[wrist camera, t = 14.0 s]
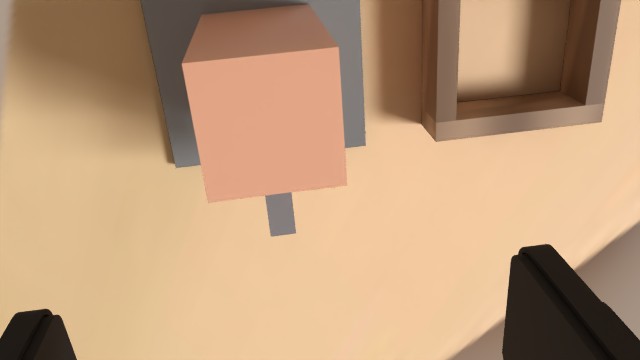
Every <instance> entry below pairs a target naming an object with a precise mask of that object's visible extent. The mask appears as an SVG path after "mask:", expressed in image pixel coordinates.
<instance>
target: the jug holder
mask: <svg viewBox="0 0 640 360" xmlns="http://www.w3.org/2000/svg"><path fill="white" fill-rule="evenodd" d="M620 4H621V0H571V6H570V14H569V22H568V30H567V38H566V47H565V55H564V63H563V71H562V79H561V87H560V91H556V92H547V93H538V94H529V95H521V96H512V97H503V98H494V99H485V100H476V101H468V102H459V103H457V81H458V54H459V27H460V0H422V126H423V127H424V128H425V129H426V130H427V132H428V133H429V134H430V135H431V136H432V138H433V139H434V140H435V141H436V142H438V141H446V140H455V139H463V138H472V137H480V136H488V135H497V134H505V133H514V132H522V131H531V130H539V129H547V128H556V127H564V126H573V125H581V124H590V123H598V122H602V116H603V109H604V103H605V97H606V91H607V85H608V78H609V72H610V66H611V60H612V53H613V47H614V41H615V35H616V29H617V22H618V16H619V10H620Z"/></svg>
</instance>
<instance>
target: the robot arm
mask: <svg viewBox="0 0 640 360" xmlns="http://www.w3.org/2000/svg"><path fill="white" fill-rule="evenodd" d="M502 350H503V351H502V353H503V359H504V360H640V340H639V339H638V338H637V337H636V336H635V335H634V333H633V332H632V331H631V330H630V329H629V328H628V327H627V326H626V325H625V324H624V322H623V321H622V320H621V319H620V318H619V317H618V316H617V315H616V314H615V312H614V311H613V310H612V309H611V308H610V307H609V306H608V305H607V304H605V303H604V302H601V301H600V299H599V298H598V297H597V296H596V295H595V294H594V293H593V292H592V291H591V289H590V288H589V287H588V286H587V285H586V284H585V283H584V281H583V280H582V279H581V278H580V277H579V276H578V275H577V274H576V273H575V271H574V270H573V269H572V268H571V267H570V266H569V265H568V264H567V262H566V261H565V260H564V259H563V258H562V257H561V256H560V255H559V253H558V252H557V251H556V250H555V249H554V248H553V247H552V246H551V245H549V244H544V245H537V246H529V247H522V248H521V249H520V250H519V253H518V255H514V256H513V257H512V259H511V266H510V276H509V287H508V297H507V307H506V318H505V328H504V339H503V349H502ZM0 360H77V359H76V356H75V353H74V351H73V348H72V345H71V342H70V339H69V337H68V334H67V331H66V328H65V326H64V323H63V320H62V318H61V317H60V316H59V315H53V314H52V312H51V311H50V310H49V309H41V310H33V311H26V312H18V313H16V314H15V315H14V316H13V317H12V319H11V321H10V323H9V324H8V326H7V328H6V330H5V331H4V333H3V335H2V336H1V338H0Z"/></svg>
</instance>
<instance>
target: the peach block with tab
mask: <svg viewBox="0 0 640 360" xmlns="http://www.w3.org/2000/svg"><path fill="white" fill-rule="evenodd" d="M182 68H183V73H184V78H185V84H186V89H187V94H188V100H189V105H190V110H191V115H192V121H193V126H194V131H195V136H196V142H197V147H198V152H199V158H200V163H201V168H202V173H203V179H204V184H205V189H206V194H207V200H208V203H209V202H217V201H225V200H233V199H241V198H249V197H257V196H265V197H266V204H267V211H268V219H269V226H270V233H271V236H279V235H287V234H294V233H296V230H295V221H294V212H293V203H292V194H291V192H297V191H305V190H313V189H322V188H330V187H338V186H346V185H347V174H346V158H345V142H344V125H343V109H342V93H341V76H340V60H339V47H338V45H337V44H336V42H335V41H334V39H333V38H332V37H331V35H330V34H329V32H328V31H327V29H326V28H325V26H324V25H323V23H322V22H321V21H320V19H319V18H318V16H317V15H316V13H315V12H314V10H313V9H312V8H311V6H310V5H309V4H303V5H293V6H283V7H273V8H263V9H252V10H242V11H232V12H222V13H212V14H202V15H201V17H200V20H199V22H198V25H197V27H196V30H195V32H194V35H193V37H192V39H191V42H190V44H189V47H188V49H187V52H186V54H185V57H184V59H183V62H182Z"/></svg>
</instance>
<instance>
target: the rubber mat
mask: <svg viewBox="0 0 640 360" xmlns="http://www.w3.org/2000/svg"><path fill="white" fill-rule="evenodd" d="M303 4H309V5H310V6H311V8H312V9H313V10H314V12H315V13H316V15H317V16H318V18H319V19H320V21H321V22H322V23H323V25H324V26H325V28H326V29H327V31H328V32H329V34H330V35H331V37H332V38H333V39H334V41H335V42H336V44H337V45H338V47H339V60H340V76H341V93H342V109H343V125H344V142H345V148H349V147H358V146H366V143H365V119H364V95H363V70H362V46H361V22H360V0H141V5H142V9H143V14H144V19H145V24H146V28H147V33H148V38H149V43H150V47H151V52H152V57H153V62H154V66H155V71H156V76H157V81H158V85H159V90H160V95H161V100H162V104H163V109H164V114H165V119H166V123H167V128H168V133H169V138H170V142H171V147H172V152H173V157H174V161H175V166H176V168H180V167H188V166H196V165H201V163H200V158H199V152H198V147H197V142H196V136H195V131H194V126H193V121H192V115H191V110H190V105H189V100H188V94H187V89H186V84H185V78H184V73H183V68H182V62H183V59H184V57H185V54H186V52H187V49H188V47H189V44H190V42H191V39H192V37H193V35H194V32H195V30H196V27H197V25H198V22H199V20H200V17H201V15H202V14H212V13H222V12H232V11H242V10H252V9H263V8H273V7H283V6H293V5H303Z"/></svg>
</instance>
